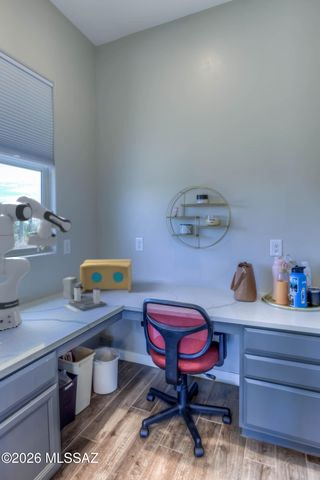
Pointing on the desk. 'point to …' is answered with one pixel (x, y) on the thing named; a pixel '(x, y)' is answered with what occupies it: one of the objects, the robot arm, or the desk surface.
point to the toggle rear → (77, 293)
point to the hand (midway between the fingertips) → (39, 251)
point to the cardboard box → (106, 274)
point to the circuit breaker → (70, 287)
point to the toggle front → (96, 295)
